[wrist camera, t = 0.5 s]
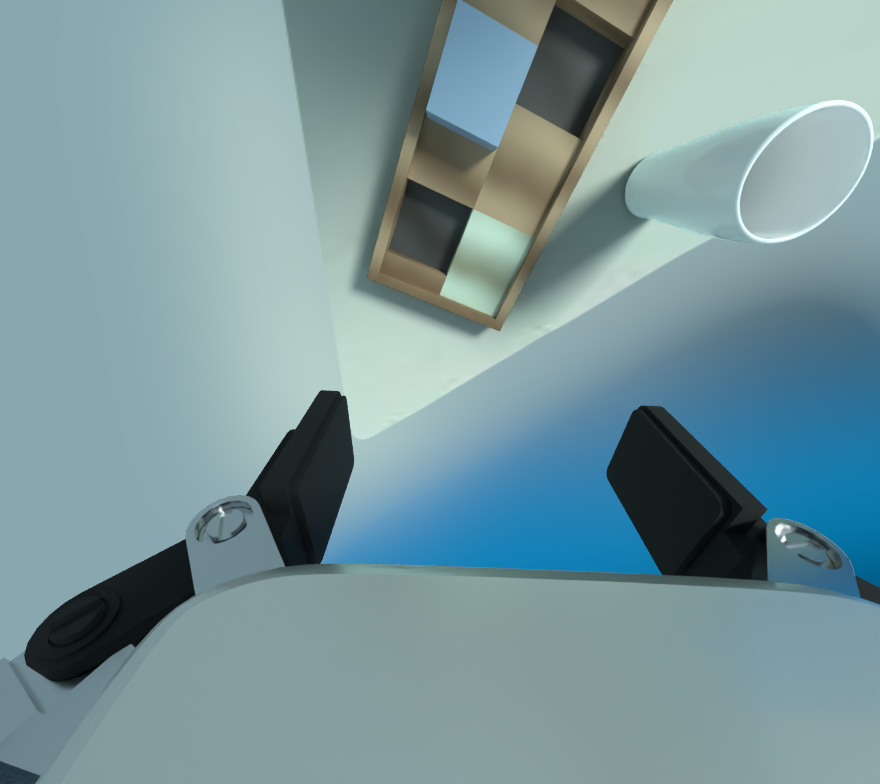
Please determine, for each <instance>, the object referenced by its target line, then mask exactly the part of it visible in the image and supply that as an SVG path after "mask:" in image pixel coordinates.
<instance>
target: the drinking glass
mask: <svg viewBox="0 0 880 784" xmlns="http://www.w3.org/2000/svg"><path fill="white" fill-rule="evenodd" d="M873 140H874V132H873V126H872V122H871V120H870V117H869V115H868V114H867V113H866V111H865V110H864V109H863V108H862V107H860V106H859V105H857V104H855V103H853V102H849V101H844V100H831V101H824V102H820V103H815V104H809V105H804V106H798V107H794V108H789V109H785V110H781V111H777V112H773V113H769V114H766V115H762V116H759V117H755V118H752V119H749V120H746V121H743V122H741V123H738V124H735V125H732V126H730V127H727V128H724V129H722V130H719V131H716V132H714V133H711V134H708V135H706V136H703V137H700V138H698V139H695V140H692V141H689V142H687V143H684V144H681V145H678V146H676V147H673V148H670V149H666V150H661V151H658V152H655V153H653V154H651V155H649V156H647V157H646V158H644V159H643V160H642V161H641V162H640V163H639V164H638V165H637V166H636V167H635V169H634V170H633V171H632V173H631V175H630V177H629V179H628V181H627V184H626V188H625V202H626V205H627V207H628V209H629V211H630V212H631V213H632V214H634V215H635V216H637V217H640V218H644V219H652V220H655V221H659V222H662V223H665V224H669V225H672V226H675V227H678V228H682V229H685V230H688V231H691V232H695V233H698V234H701V235H705V236H709V237H713V238H718V239H723V240H729V241H737V242H748V243H759V244H776V243H781V242H785V241H789V240H791V239H794V238H797V237H799V236H801V235H803V234H805V233H807V232H809V231H810V230H812V229H813V228H815V227H816V226H818V225H819V224H821V223H822V222H823V221H824V220H826V219H827V218H828V217H829V216H830V215H832V214H833V213H834V212H835V211H836V210H837V209H838V208H839V207H840V206H841V205H842V203H844V201H845V200H846V199H847V198H848V196H849V195H850V194H851V193H852V191H853V190H854V189H855V187H856V185H857V184H858V182H859V181H860V179H861V177H862V175H863V173H864V171H865V169H866V167H867V164H868V162H869V159H870V155H871V152H872V147H873Z"/></svg>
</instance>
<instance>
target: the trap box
mask: <svg viewBox="0 0 880 784" xmlns="http://www.w3.org/2000/svg"><path fill="white" fill-rule="evenodd" d="M457 1H458V0H442V2H441V6H440V9H439V13H438V17H437V20H436V24H435V28H434V32H433V35H432V39H431V43H430V46H429V50H428V54H427V57H426V61H425V65H424V68H423V72H422V76H421V80H420V83H419V87H418V91H417V94H416V98H415V102H414V105H413V109H412V113H411V116H410V120H409V124H408V128H407V131H406V135H405V139H404V142H403V146H402V150H401V153H400V157H399V161H398V164H397V168H396V172H395V176H394V179H393V183H392V187H391V190H390V194H389V198H388V201H387V205H386V209H385V212H384V216H383V220H382V223H381V227H380V231H379V235H378V238H377V242H376V246H375V249H374V253H373V257H372V260H371V264H370V268H369V271H368V275H367V278H368V279H370V280H373V281H375V282H378V283H380V284H383V285H385V286H388V287H390V288H393V289H395V290H398V291H400V292H403V293H405V294H408V295H410V296H413V297H415V298H418V299H420V300H423V301H425V302H428V303H430V304H433V305H435V306H438V307H440V308H443V309H445V310H448V311H450V312H453V313H455V314H458V315H460V316H463V317H465V318H468V319H470V320H473V321H475V322H478V323H480V324H483V325H485V326H488V327H490V328H493V329H495V330H498V331H500V330H501V328H502V326H503V324H504V322H505V320H506V318H507V316H508V314H509V312H510V310H511V309H512V307H513V305H514V303H515V301H516V299H517V297H518V295H519V293H520V291H521V289H522V288H523V286H524V284H525V282H526V280H527V278H528V276H529V274H530V272H531V270H532V269H533V267H534V265H535V263H536V261H537V259H538V257H539V255H540V253H541V251H542V249H543V248H544V246H545V244H546V242H547V240H548V238H549V236H550V234H551V232H552V230H553V228H554V227H555V225H556V223H557V221H558V219H559V217H560V215H561V213H562V211H563V209H564V208H565V206H566V204H567V202H568V200H569V198H570V196H571V194H572V192H573V190H574V188H575V187H576V185H577V183H578V181H579V179H580V177H581V175H582V173H583V171H584V169H585V168H586V166H587V164H588V162H589V160H590V158H591V156H592V154H593V152H594V150H595V148H596V147H597V145H598V143H599V141H600V139H601V137H602V135H603V133H604V131H605V129H606V127H607V126H608V124H609V122H610V120H611V118H612V116H613V114H614V112H615V110H616V108H617V107H618V105H619V103H620V101H621V99H622V97H623V95H624V93H625V91H626V89H627V87H628V86H629V84H630V82H631V80H632V78H633V76H634V74H635V72H636V70H637V68H638V67H639V65H640V63H641V61H642V59H643V57H644V55H645V53H646V51H647V49H648V47H649V46H650V44H651V42H652V40H653V38H654V36H655V34H656V32H657V30H658V28H659V26H660V25H661V23H662V21H663V19H664V17H665V15H666V13H667V11H668V9H669V7H670V6H671V4H672V2H673V0H462V1H464V2H465V3H467V4H469V5H470V6H472V7H474V8H475V9H477V10H479V11H480V12H482V13H484V14H485V15H487V16H489V17H490V18H492V19H494V20H495V21H497V22H499V23H500V24H502V25H504V26H505V27H507V28H509V29H510V30H512V31H514V32H515V33H517V34H519V35H520V36H522V37H524V38H525V39H527V40H529V41H530V42H532V43H534V44H535V45H537V46H538V48H537V50H536V53H535V55H534V58H533V60H532V63H531V66H530V68H529V71H528V73H527V76H526V78H525V81H524V83H523V86H522V88H521V91H520V93H519V96H518V98H517V101H516V103H515V106H514V108H513V111H512V113H511V116H510V118H509V121H508V124H507V126H506V129H505V131H504V134H503V136H502V139H501V141H500V144H499V146H498V148H497V149H496V150H495V151H493V152H492V151H490V150H488V149H486V148H484V147H483V146H481V145H479V144H477V143H475V142H473V141H471V140H469V139H467V138H465V137H463V136H461V135H459V134H457V133H455V132H453V131H451V130H449V129H448V128H446V127H444V126H442V125H440V124H438V123H436V122H434V121H432V120H430V119H428V117H427V113H426V108H427V105H428V101H429V98H430V94H431V91H432V87H433V84H434V80H435V77H436V73H437V70H438V67H439V63H440V60H441V56H442V53H443V49H444V46H445V42H446V39H447V35H448V32H449V28H450V25H451V21H452V18H453V14H454V11H455V8H456V4H457Z"/></svg>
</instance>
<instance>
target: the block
mask: <svg viewBox="0 0 880 784" xmlns="http://www.w3.org/2000/svg"><path fill="white" fill-rule="evenodd" d="M537 48H538V46H537V45H535V44H534V43H532V42H530V41H529V40H527V39H525V38H524V37H522V36H520V35H519V34H517V33H515V32H514V31H512V30H510V29H509V28H507V27H505V26H504V25H502V24H500V23H499V22H497V21H495V20H494V19H492V18H490V17H489V16H487V15H485V14H484V13H482V12H480V11H479V10H477V9H475V8H474V7H472V6H470V5H469V4H467V3H465V2H464V1H462V0H458V1H457V4H456V8H455V11H454V14H453V18H452V21H451V25H450V28H449V32H448V35H447V39H446V42H445V46H444V49H443V53H442V56H441V60H440V63H439V67H438V70H437V73H436V77H435V80H434V84H433V87H432V91H431V94H430V98H429V101H428V105H427V108H426V113H427V117H428V119H430V120H432V121H434V122H436V123H438V124H440V125H442V126H444V127H446V128H448V129H449V130H451V131H453V132H455V133H457V134H459V135H461V136H463V137H465V138H467V139H469V140H471V141H473V142H475V143H477V144H479V145H481V146H483V147H484V148H486V149H488V150H490V151H492V152H493V151H495V150H496V149H497V148H498V146H499V144H500V141H501V139H502V136H503V134H504V131H505V129H506V126H507V124H508V121H509V118H510V116H511V113H512V111H513V108H514V106H515V103H516V101H517V98H518V96H519V93H520V91H521V88H522V86H523V83H524V81H525V78H526V76H527V73H528V71H529V68H530V66H531V63H532V60H533V58H534V55H535V53H536V50H537Z"/></svg>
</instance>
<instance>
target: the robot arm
mask: <svg viewBox="0 0 880 784" xmlns="http://www.w3.org/2000/svg"><path fill="white" fill-rule="evenodd" d="M353 466H354V455H353V446H352V438H351V430H350V422H349V414H348V406H347V399H346V396H341V394H340V392H339V391H324V390H323V391H322V390H321V391H320V392H319V393H318V395H317V396H316V398H315V399H314V401H313V403H312V404H311V406H310V407H309V409H308V410H307V412H306V414H305V415H304V417H303V418H302V420H301V422H300V423H299V425H298V426H297V428H296V429H295V430H294V429H293V430H290V431H289V432H288V433H287V434H286V436H285V437H284V438H283V440H282V441H281V443H280V445H279V446H278V448H277V449H276V451H275V452H274V454H273V455H272V457H271V458H270V460H269V461H268V463H267V464H266V466H265V467H264V469H263V471H262V472H261V474H260V475H259V476H258V478H257V480H256V481H255V483H254V484H253V486H252V487H251V489H250V490H249V492H248V493H247V495H246V496H242V495H238V496H230V497H227V498H223V499H220V500H218V501H216V502H214V503H212V504H210V505H208V506H207V507H206V508H204V509H203V510H202V511H200V512H199V513H198V514H197V515H196V516H195V517H194V519H193V520H192V521H191V522H190V524H189V526H188V529H187V530H186V539H185V540H183V541H181V542H179V543H177V544H175V545H173V546H171V547H169V548H167V549H165V550H164V551H162V552H159V553H158V554H156V555H154V556H152V557H150V558H148V559H146V560H144V561H142V562H140V563H138V564H136V565H134V566H132V567H130V568H128V569H127V570H125V571H123V572H121V573H119V574H117V575H115V576H113V577H111V578H109V579H107V580H105V581H103V582H101V583H99V584H97V585H96V586H94V587H92V588H90V589H88V590H86V591H84V592H82V593H80V594H78V595H77V596H75V597H74V598H72V599H70V600H69V601H67V602H65V603H64V604H63V605H61V606H60V607H59V608H58V609H56V610H55V611H54V612H53V613H52V614H50V615H49V616H48V617H47V619H45V621H44V622H43V623H42V624H41V625H40V626H39V627H38V628H37V629H36V631H35V632H34V634H33V635H32V637H31V639H30V640H29V642H28V644H27V647H26V650H25V651H24V652H23V653H21V654H20V655H19V656H17V657H16V658H14V659H13V660H12V661H10V660H8V659H6V658H3V659H2V660H0V784H880V588H879V587H877V586H875V585H872V584H871V583H869V582H867V581H865V580H863V579H861V578H859V577H857V576H855V574H854V570H853V567H852V564H851V562H850V560H849V558H848V557H847V556H846V555H845V554H844V552H843V551H842V550H841V549H840V548H839V547H838V546H836V545H835V544H834V543H833V542H832V541H830V540H829V539H828V538H826V537H824V536H823V535H822V534H820V533H819V532H817V531H815V530H813V529H811V528H809V527H807V526H805V525H803V524H800V523H798V522H795V521H792V520H787V519H782V518H780V519H779V518H778V519H772V520H770V521H768V522H767V523H765V521H763V519H761V516H762V515H763V514H764V513H765V512H766V511H767V509H766V508H765V507H764V506H763V505H762V504H761V503H760V502H759V501H758V500H757V499H756V498H755V497H754V496H753V495H752V494H751V493H750V492H749V491H748V490H747V489H746V488H745V487H744V486H743V485H742V484H741V483H740V482H739V481H738V480H737V479H736V478H735V477H734V476H733V475H732V474H731V473H730V472H729V471H728V470H727V469H726V468H725V467H723V465H722V464H721V463H720V462H719V461H717V460H716V459H715V458H714V457H713V456H712V455H711V454H710V453H709V452H708V451H707V450H706V449H705V448H704V447H703V446H702V445H701V444H700V443H699V442H698V441H697V440H696V439H695V438H694V437H693V436H692V435H691V434H690V433H689V432H688V431H687V430H686V429H685V428H684V427H683V426H682V425H681V424H680V423H679V422H678V421H677V420H676V419H675V418H674V417H673V416H671V414H669V413H668V412H667V411H666V410H665V409H664V408H663V407H660V406H640V407H639V408H638V409H637V410H634V411H633V413H632V414H631V416H630V419H629V421H628V423H627V426H626V428H625V430H624V432H623V435H622V437H621V439H620V441H619V443H618V446H617V448H616V450H615V453H614V455H613V457H612V460H611V461H610V464H609V466H608V468H607V478H608V481H609V482H610V484H611V486H612V488H613V489H614V491H615V493H616V495H617V497H618V498H619V500H620V502H621V503H622V505H623V507H624V508H625V511H626V512H627V514H628V516H629V517H630V519H631V521H632V523H633V524H634V526H635V528H636V530H637V532H638V533H639V535H640V537H641V539H642V540H643V542H644V544H645V546H646V548H647V549H648V551H649V553H650V555H651V556H652V558H653V560H654V562H655V563H656V565H657V567H658V569H659V570H660V572H661V573H662V575H649V574H628V573H606V572H582V571H556V570H555V571H554V570H532V569H531V570H530V569H506V568H478V567H450V566H449V567H448V566H421V565H384V564H320V563H321V561H322V559H323V556H324V553H325V550H326V547H327V544H328V541H329V538H330V535H331V532H332V529H333V526H334V523H335V520H336V518H337V514H338V512H339V508H340V505H341V503H342V500H343V497H344V494H345V491H346V488H347V484H348V482H349V479H350V476H351V473H352V470H353Z"/></svg>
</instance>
